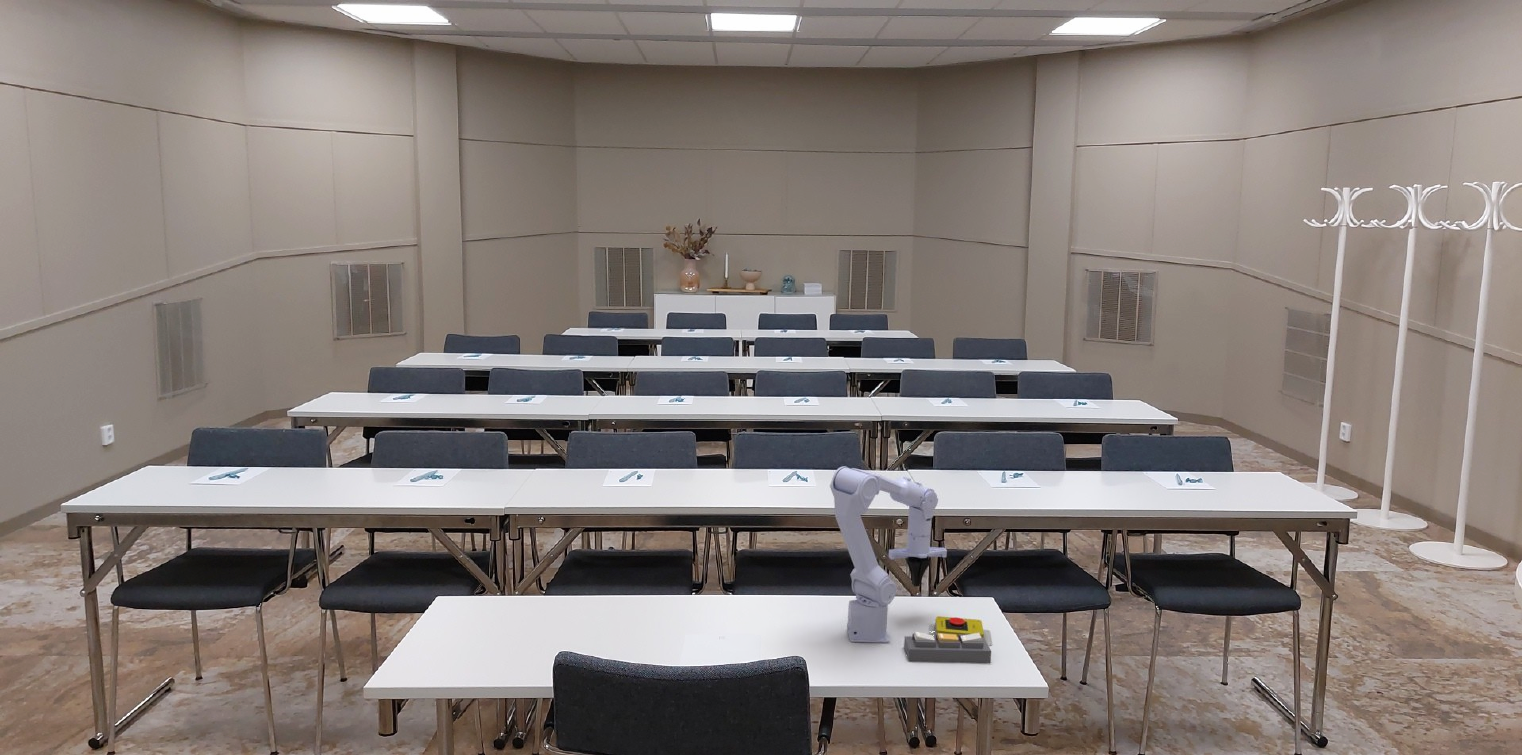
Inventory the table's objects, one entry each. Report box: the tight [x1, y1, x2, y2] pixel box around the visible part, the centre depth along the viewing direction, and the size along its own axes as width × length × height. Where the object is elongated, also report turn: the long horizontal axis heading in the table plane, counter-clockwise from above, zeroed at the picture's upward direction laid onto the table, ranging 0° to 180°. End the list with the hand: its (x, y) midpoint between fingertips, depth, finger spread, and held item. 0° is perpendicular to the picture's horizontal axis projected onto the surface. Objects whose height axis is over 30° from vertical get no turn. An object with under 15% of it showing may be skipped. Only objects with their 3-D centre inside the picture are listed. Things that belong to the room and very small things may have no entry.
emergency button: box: [928, 615, 993, 647], centre depth 261 cm, size 9×4×15 cm
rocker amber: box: [937, 633, 959, 642], centre depth 249 cm, size 4×3×1 cm, turn 92°
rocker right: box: [960, 633, 982, 642], centre depth 249 cm, size 4×3×1 cm, turn 91°
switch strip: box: [903, 632, 992, 664], centre depth 249 cm, size 19×7×4 cm, turn 91°
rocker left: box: [913, 630, 935, 641], centre depth 249 cm, size 4×3×1 cm, turn 92°
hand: (915, 584), depth 267 cm, fingers closed
